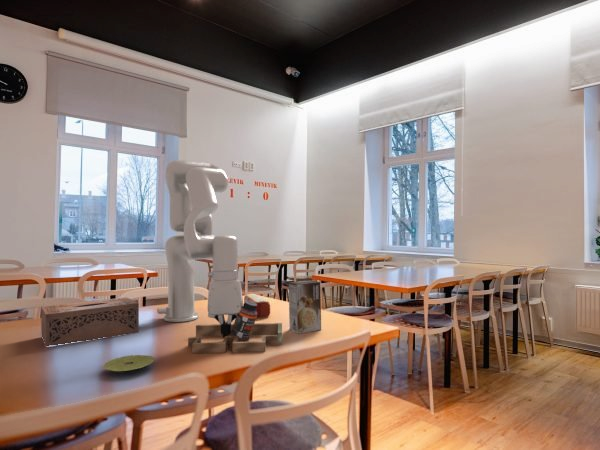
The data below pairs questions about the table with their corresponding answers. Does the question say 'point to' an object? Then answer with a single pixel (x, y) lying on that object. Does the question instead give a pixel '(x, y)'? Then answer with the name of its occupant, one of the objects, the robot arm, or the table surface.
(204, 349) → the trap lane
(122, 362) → the green disc
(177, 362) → the table surface
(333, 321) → the table surface
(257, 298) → the snack package
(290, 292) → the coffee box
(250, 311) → the supplement bottle
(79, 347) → the table surface
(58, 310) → the tissue box cover
